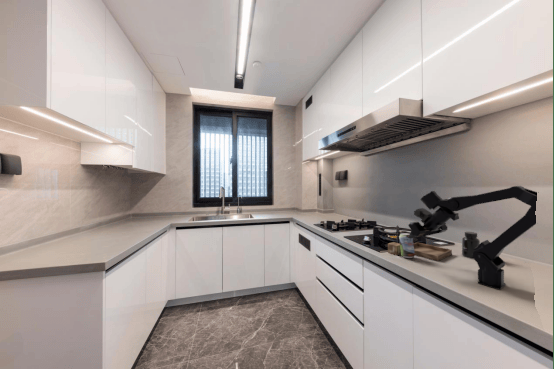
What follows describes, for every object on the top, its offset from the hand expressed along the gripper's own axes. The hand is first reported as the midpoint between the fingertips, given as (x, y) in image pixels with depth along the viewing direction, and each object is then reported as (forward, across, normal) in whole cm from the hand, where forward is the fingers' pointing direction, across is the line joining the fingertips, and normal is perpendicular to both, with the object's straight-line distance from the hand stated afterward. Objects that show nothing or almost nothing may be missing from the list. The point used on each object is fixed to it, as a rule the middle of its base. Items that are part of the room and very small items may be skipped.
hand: (416, 236), depth 114 cm
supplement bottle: (+4, -28, +13) cm, 32 cm away
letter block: (+17, 0, 0) cm, 17 cm away
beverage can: (+12, 0, +5) cm, 13 cm away
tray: (+12, -13, +5) cm, 19 cm away
